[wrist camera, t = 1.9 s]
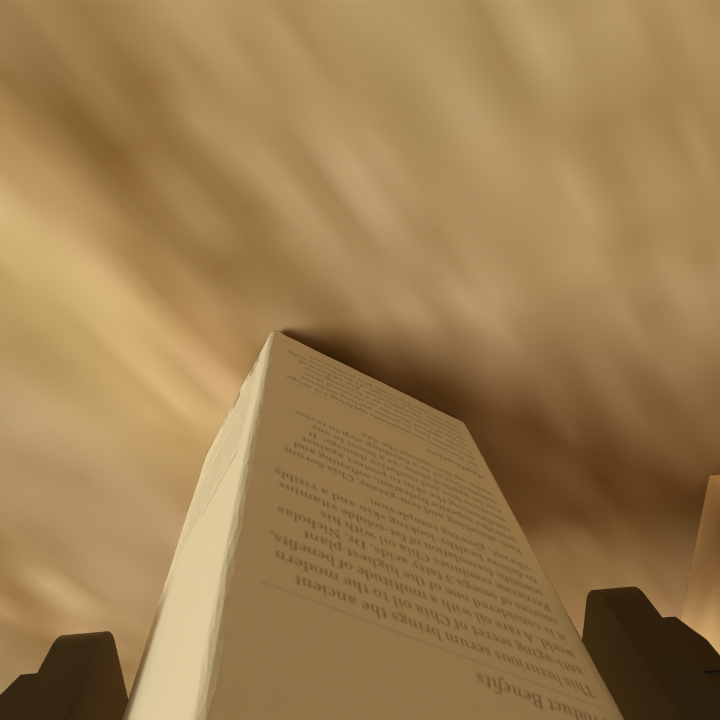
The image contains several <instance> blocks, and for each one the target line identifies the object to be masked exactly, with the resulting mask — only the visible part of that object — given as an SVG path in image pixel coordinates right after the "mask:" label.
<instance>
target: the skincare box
mask: <svg viewBox="0 0 720 720" xmlns="http://www.w3.org/2000/svg"><path fill="white" fill-rule="evenodd" d="M122 720H625V719H624V717H623V715H622V714H621V712H620V710H619V708H618V706H617V704H616V702H615V701H614V699H613V697H612V695H611V693H610V692H609V690H608V688H607V686H606V684H605V683H604V681H603V679H602V677H601V675H600V674H599V672H598V670H597V668H596V666H595V664H594V662H593V660H592V659H591V657H590V655H589V653H588V651H587V649H586V647H585V645H584V643H583V642H582V640H581V638H580V636H579V634H578V632H577V630H576V628H575V627H574V625H573V623H572V621H571V619H570V617H569V616H568V614H567V612H566V610H565V608H564V606H563V605H562V603H561V601H560V599H559V597H558V595H557V593H556V591H555V589H554V587H553V586H552V584H551V582H550V580H549V578H548V577H547V575H546V573H545V571H544V570H543V568H542V566H541V564H540V562H539V560H538V558H537V557H536V555H535V553H534V551H533V549H532V547H531V545H530V544H529V542H528V540H527V538H526V536H525V534H524V532H523V530H522V529H521V527H520V525H519V523H518V521H517V520H516V518H515V516H514V514H513V512H512V511H511V509H510V507H509V505H508V503H507V501H506V499H505V498H504V496H503V494H502V492H501V490H500V488H499V486H498V484H497V483H496V481H495V479H494V477H493V475H492V473H491V471H490V470H489V468H488V466H487V464H486V462H485V460H484V458H483V456H482V455H481V453H480V451H479V449H478V447H477V445H476V443H475V442H474V440H473V438H472V436H471V434H470V432H469V431H468V429H467V427H466V426H465V424H464V423H463V422H462V421H460V420H458V419H455V418H453V417H451V416H449V415H447V414H445V413H443V412H441V411H439V410H437V409H435V408H433V407H431V406H429V405H427V404H425V403H423V402H421V401H419V400H417V399H415V398H412V397H410V396H408V395H406V394H404V393H402V392H400V391H398V390H396V389H394V388H392V387H390V386H388V385H386V384H384V383H382V382H380V381H378V380H376V379H374V378H371V377H369V376H367V375H365V374H363V373H361V372H359V371H357V370H355V369H353V368H351V367H349V366H347V365H345V364H343V363H341V362H339V361H336V360H334V359H332V358H330V357H328V356H326V355H324V354H322V353H320V352H318V351H316V350H314V349H312V348H310V347H308V346H306V345H304V344H302V343H300V342H298V341H296V340H294V339H292V338H289V337H287V336H286V335H284V334H282V333H280V332H277V331H273V332H272V333H271V334H270V335H269V337H268V339H267V341H266V343H265V345H264V347H263V349H262V351H261V353H260V355H259V357H258V359H257V360H256V362H255V364H254V366H253V368H252V369H251V371H250V373H249V375H248V377H247V378H246V380H245V382H244V384H243V386H242V388H241V390H240V392H239V394H238V396H237V398H236V400H235V402H234V404H233V406H232V408H231V410H230V411H229V413H228V415H227V417H226V419H225V421H224V423H223V425H222V427H221V429H220V431H219V433H218V435H217V437H216V439H215V441H214V443H213V445H212V447H211V448H210V450H209V452H208V454H207V457H206V459H205V462H204V465H203V468H202V471H201V475H200V478H199V481H198V484H197V487H196V490H195V493H194V496H193V499H192V502H191V505H190V508H189V511H188V514H187V517H186V520H185V524H184V527H183V530H182V533H181V536H180V539H179V543H178V546H177V549H176V552H175V555H174V559H173V562H172V565H171V568H170V571H169V574H168V577H167V580H166V583H165V587H164V590H163V593H162V596H161V599H160V603H159V606H158V609H157V612H156V615H155V618H154V621H153V624H152V627H151V630H150V633H149V637H148V640H147V643H146V646H145V649H144V652H143V655H142V659H141V662H140V665H139V668H138V671H137V675H136V678H135V681H134V684H133V687H132V690H131V693H130V696H129V700H128V703H127V706H126V709H125V712H124V716H123V719H122Z"/></svg>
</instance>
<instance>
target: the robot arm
mask: <svg viewBox="0 0 720 720" xmlns="http://www.w3.org/2000/svg"><path fill="white" fill-rule="evenodd" d="M582 642H583V643H584V645H585V647H586V649H587V651H588V653H589V655H590V657H591V659H592V660H593V662H594V664H595V666H596V668H597V670H598V672H599V674H600V675H601V677H602V679H603V681H604V683H605V684H606V686H607V688H608V690H609V692H610V693H611V695H612V697H613V699H614V701H615V702H616V704H617V706H618V708H619V710H620V712H621V714H622V715H623V717H624V719H625V720H720V655H719V654H718V652H717V651H716V650H715V649H714V647H713V646H712V645H711V644H710V643H709V641H708V640H707V639H705V638H704V637H703V636H701V635H700V634H699V633H697V632H696V631H694V630H693V629H692V628H690V627H689V626H688V625H686V624H685V623H683V622H682V621H681V620H679V619H678V618H677V617H665V618H662V617H661V615H660V614H659V613H658V611H657V610H656V609H655V607H654V606H653V605H652V603H651V602H650V601H649V600H648V598H647V597H646V596H645V594H644V593H643V592H642V591H641V590H640V589H639V588H637V587H623V588H612V589H601V590H592V591H590V592H589V594H588V596H587V601H586V610H585V619H584V628H583V637H582ZM127 703H128V697H127V693H126V688H125V684H124V680H123V675H122V671H121V667H120V662H119V658H118V654H117V649H116V645H115V641H114V637H113V635H112V634H111V633H110V632H108V631H106V632H95V633H84V634H72V635H62V636H60V637H58V638H57V639H56V640H55V642H54V643H53V645H52V647H51V648H50V650H49V652H48V654H47V656H46V658H45V660H44V661H43V663H42V665H41V667H40V669H39V671H38V673H35V674H24V675H20V676H19V677H18V678H17V679H16V680H15V681H14V682H13V683H12V684H11V685H10V686H9V687H8V688H7V689H6V690H5V691H4V692H3V693H2V694H1V695H0V720H122V719H123V716H124V712H125V709H126V706H127Z"/></svg>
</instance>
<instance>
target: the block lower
mask: <svg viewBox="0 0 720 720" xmlns="http://www.w3.org/2000/svg"><path fill="white" fill-rule="evenodd" d="M681 621H682V622H683V623H685V624H686V625H688V626H689V627H690V628H692V629H693V630H694V631H696V632H697V633H699V634H700V635H701V636H703V637H704V638H705V639H707V640H708V641H709V643H710V644H711V645H712V646H713V647H714V649H715V650H716V651H717V652H718V654H719V655H720V475H710V476H709V481H708V486H707V491H706V496H705V501H704V506H703V511H702V516H701V521H700V526H699V531H698V536H697V541H696V546H695V551H694V556H693V561H692V566H691V571H690V576H689V581H688V586H687V591H686V596H685V601H684V606H683V611H682V616H681Z"/></svg>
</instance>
